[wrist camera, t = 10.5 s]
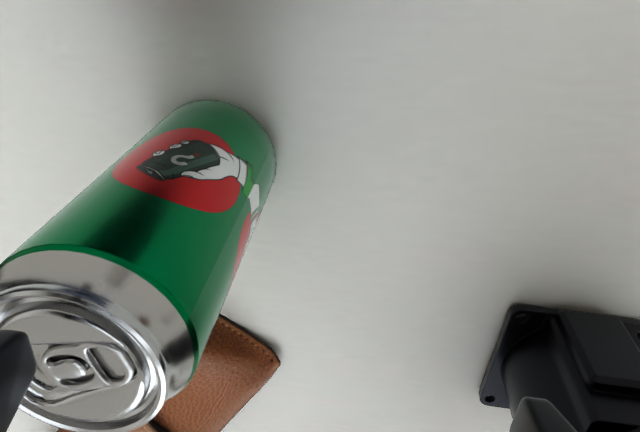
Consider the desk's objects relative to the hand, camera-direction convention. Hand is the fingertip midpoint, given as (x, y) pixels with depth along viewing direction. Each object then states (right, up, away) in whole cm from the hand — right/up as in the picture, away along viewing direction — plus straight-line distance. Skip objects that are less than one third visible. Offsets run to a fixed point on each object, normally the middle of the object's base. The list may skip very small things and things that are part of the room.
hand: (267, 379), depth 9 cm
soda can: (-3, +6, +12) cm, 14 cm away
